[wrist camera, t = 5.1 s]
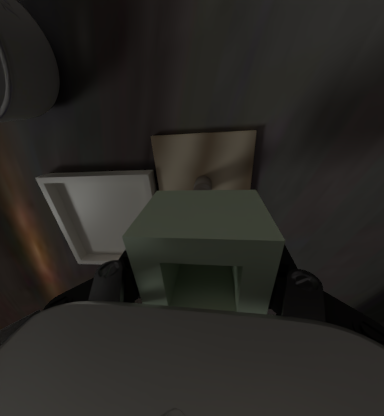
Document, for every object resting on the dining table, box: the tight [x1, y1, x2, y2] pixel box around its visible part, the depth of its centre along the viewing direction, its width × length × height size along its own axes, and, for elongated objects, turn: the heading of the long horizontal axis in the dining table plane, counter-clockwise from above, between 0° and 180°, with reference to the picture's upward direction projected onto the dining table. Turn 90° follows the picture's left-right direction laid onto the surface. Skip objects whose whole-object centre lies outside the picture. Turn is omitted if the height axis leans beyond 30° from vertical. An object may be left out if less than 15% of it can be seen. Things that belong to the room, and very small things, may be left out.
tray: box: [36, 170, 157, 264], centre depth 26 cm, size 16×16×2 cm
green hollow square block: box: [122, 190, 285, 314], centre depth 10 cm, size 6×6×5 cm
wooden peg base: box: [151, 130, 256, 191], centre depth 20 cm, size 12×12×6 cm
